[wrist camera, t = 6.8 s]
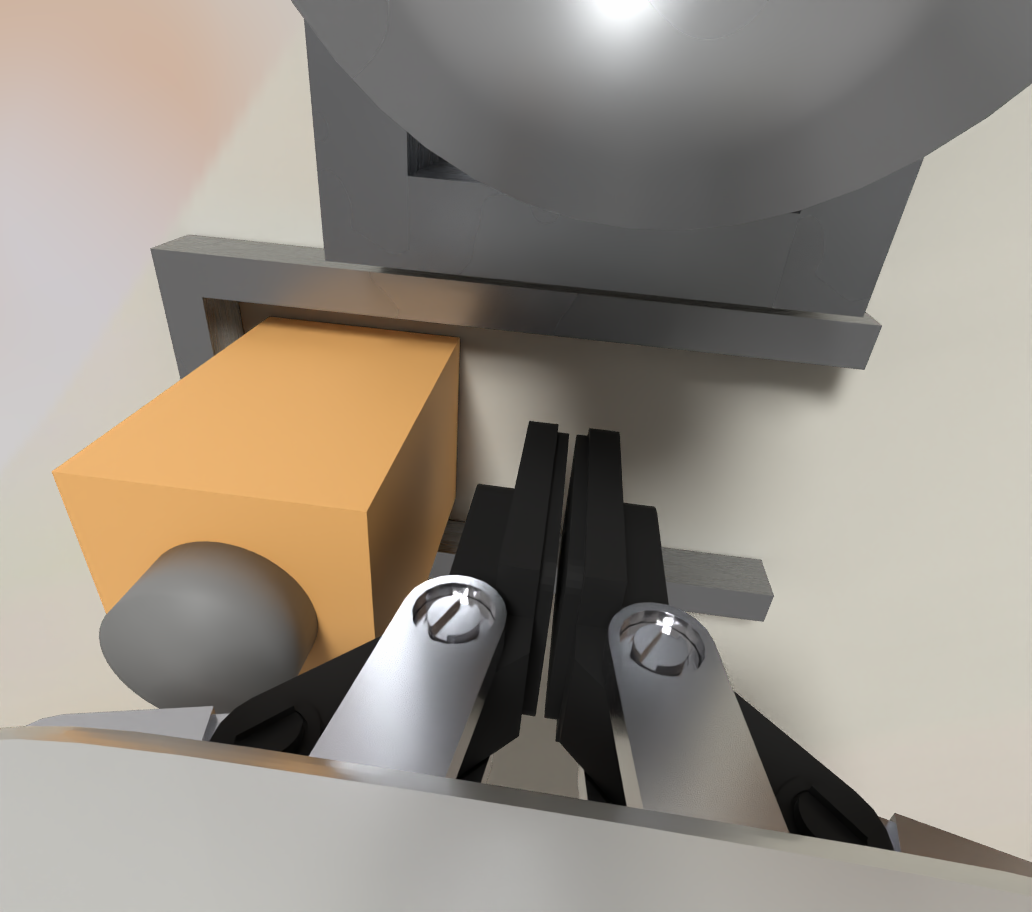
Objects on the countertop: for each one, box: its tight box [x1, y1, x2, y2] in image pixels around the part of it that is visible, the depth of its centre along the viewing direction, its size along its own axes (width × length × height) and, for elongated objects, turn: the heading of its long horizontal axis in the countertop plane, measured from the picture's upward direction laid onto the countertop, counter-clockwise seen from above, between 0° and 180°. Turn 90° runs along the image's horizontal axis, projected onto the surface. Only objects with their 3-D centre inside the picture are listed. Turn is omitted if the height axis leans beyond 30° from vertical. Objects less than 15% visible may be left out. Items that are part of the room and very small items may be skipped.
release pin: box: [52, 317, 460, 714], centre depth 11 cm, size 4×4×7 cm
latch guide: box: [151, 235, 882, 622], centre depth 13 cm, size 13×7×1 cm, turn 86°
